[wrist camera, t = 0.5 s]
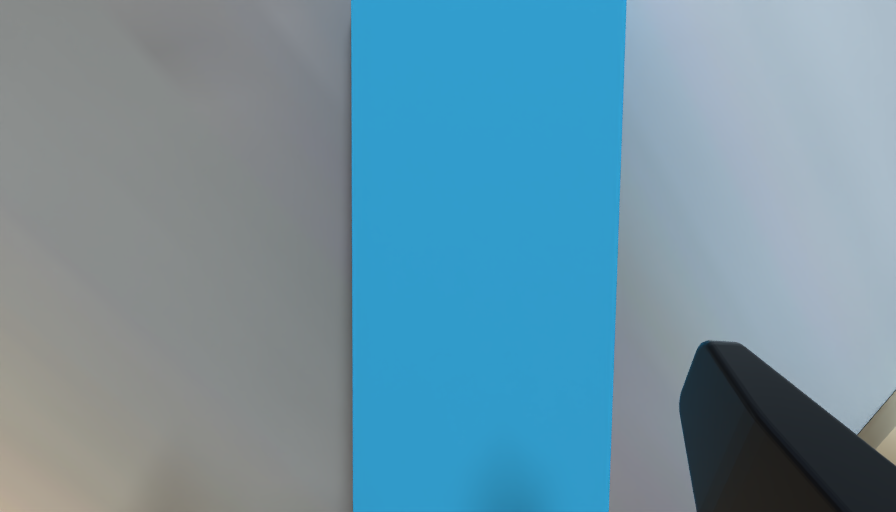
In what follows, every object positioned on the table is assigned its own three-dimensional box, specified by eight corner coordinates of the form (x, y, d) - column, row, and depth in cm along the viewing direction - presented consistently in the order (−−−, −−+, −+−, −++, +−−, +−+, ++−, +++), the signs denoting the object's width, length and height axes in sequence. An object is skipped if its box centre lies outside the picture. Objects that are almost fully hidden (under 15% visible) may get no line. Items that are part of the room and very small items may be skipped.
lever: (371, 21, 26) (371, 531, 28) (350, -32, 19) (353, 650, 21) (575, 24, 26) (560, 531, 28) (627, -28, 19) (603, 648, 21)
